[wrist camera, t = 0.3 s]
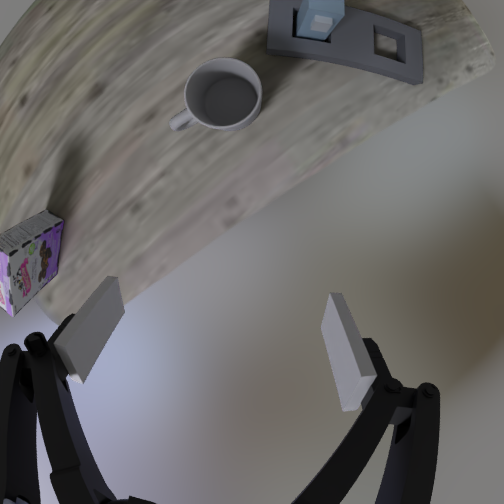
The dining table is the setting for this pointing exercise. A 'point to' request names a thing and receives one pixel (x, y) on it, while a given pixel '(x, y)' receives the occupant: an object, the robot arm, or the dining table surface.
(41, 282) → the candy box
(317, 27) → the plug
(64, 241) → the dining table surface
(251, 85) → the mug
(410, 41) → the panel
